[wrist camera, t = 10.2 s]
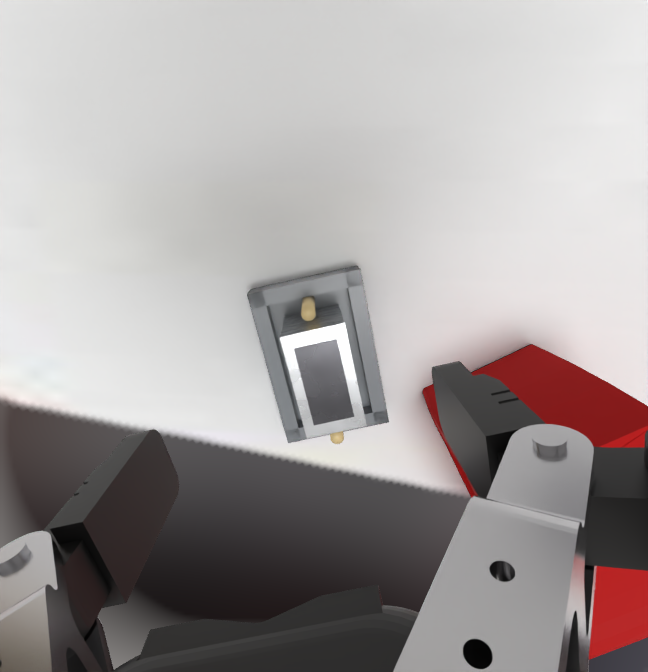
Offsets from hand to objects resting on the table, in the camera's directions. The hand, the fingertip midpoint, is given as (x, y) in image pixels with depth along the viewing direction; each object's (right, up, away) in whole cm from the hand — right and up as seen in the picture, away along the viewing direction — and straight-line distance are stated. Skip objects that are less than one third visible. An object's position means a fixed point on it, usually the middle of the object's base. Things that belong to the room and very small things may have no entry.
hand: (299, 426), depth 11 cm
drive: (+1, +1, +22) cm, 22 cm away
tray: (0, +1, +23) cm, 23 cm away
